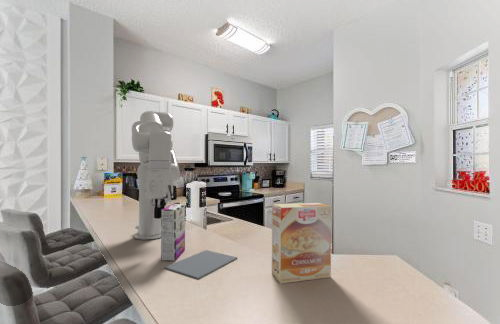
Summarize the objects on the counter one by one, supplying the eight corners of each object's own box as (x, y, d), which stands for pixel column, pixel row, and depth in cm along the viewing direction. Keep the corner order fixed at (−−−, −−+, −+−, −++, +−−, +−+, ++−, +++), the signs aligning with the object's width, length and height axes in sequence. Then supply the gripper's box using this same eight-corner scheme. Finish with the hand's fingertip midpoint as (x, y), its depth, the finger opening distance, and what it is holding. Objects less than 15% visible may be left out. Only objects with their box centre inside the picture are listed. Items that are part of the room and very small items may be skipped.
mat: (164, 268, 73) (164, 266, 73) (206, 251, 88) (206, 250, 88) (198, 279, 66) (198, 277, 66) (237, 258, 81) (237, 257, 81)
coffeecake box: (280, 284, 63) (280, 207, 64) (270, 273, 70) (271, 203, 71) (332, 277, 67) (331, 205, 68) (318, 267, 74) (318, 201, 75)
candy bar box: (171, 249, 90) (172, 204, 90) (185, 249, 90) (185, 204, 90) (159, 261, 79) (160, 209, 79) (175, 261, 79) (176, 209, 79)
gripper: (137, 166, 90) (136, 217, 89) (165, 165, 82) (164, 222, 81) (155, 166, 96) (154, 214, 96) (182, 166, 88) (182, 218, 88)
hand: (159, 217), depth 88 cm, fingers closed
